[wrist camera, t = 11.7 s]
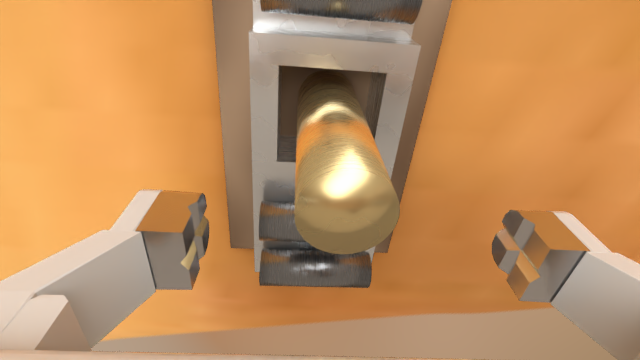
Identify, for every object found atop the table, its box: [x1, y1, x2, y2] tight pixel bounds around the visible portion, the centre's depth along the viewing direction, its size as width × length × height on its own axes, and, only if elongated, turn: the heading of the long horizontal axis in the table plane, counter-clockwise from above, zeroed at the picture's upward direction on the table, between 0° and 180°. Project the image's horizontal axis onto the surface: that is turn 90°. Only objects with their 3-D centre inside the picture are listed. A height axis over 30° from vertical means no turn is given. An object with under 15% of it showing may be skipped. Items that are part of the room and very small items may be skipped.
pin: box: [294, 70, 400, 254], centre depth 14 cm, size 3×3×10 cm
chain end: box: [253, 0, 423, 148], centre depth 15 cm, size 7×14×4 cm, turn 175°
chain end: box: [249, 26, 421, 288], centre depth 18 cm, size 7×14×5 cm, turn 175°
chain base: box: [212, 0, 452, 253], centre depth 19 cm, size 11×22×2 cm, turn 175°
